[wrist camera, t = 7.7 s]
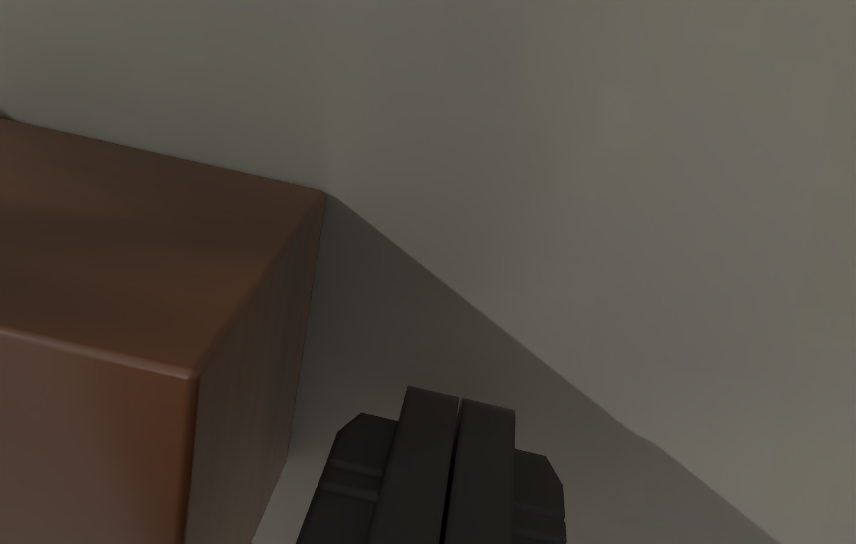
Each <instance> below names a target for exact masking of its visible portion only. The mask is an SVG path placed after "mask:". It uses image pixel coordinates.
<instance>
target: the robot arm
mask: <svg viewBox="0 0 856 544" xmlns="http://www.w3.org/2000/svg"><path fill="white" fill-rule="evenodd" d="M458 404H459V397H455V396H451V395H447V394H442V393H438V392H434V391H430V390H425V389H421V388H417V387H413V386H409V385H408V387H407V390H406V394H405V398H404V402H403V406H402V410H401V414H400V417H399V421H395V420H390V419H386V418H382V417H378V416H374V415H369V414H365V413H360V414H359V415H358V416H356V417H355V418H354V419H353V420H352V421H350V422H349V423H348V424H347V425H345V426H344V427H343V428H342V429H341V430H339V431H338V432H337V434H336V437H335V440H334V442H333V445H332V448H331V450H330V453H329V456H328V459H327V462H326V465H325V467H324V469H323V472H322V475H321V477H320V480H319V483H318V487H317V488H316V491H315V493H314V496H313V499H312V502H311V504H310V507H309V510H308V512H307V515H306V518H305V520H304V523H303V526H302V528H301V531H300V534H299V536H298V539H297V542H296V544H566V542H567V540H566V525H565V522H564V518H565V510H564V494H563V485H562V483H561V482H560V480H559V478H558V476H557V475H556V473H555V471H554V469H553V468H552V466H551V464H550V462H549V461H548V459H547V457H546V456H543V455H539V454H534V453H530V452H526V451H522V450H518V449H515V411H514V410H511V409H507V408H502V407H498V406H494V405H490V404H486V403H481V402H477V401H473V400H469V399H464V398H463V399H462V401H461V404H460V407H459V411H458ZM457 411H458V414H457Z"/></svg>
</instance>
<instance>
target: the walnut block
mask: <svg viewBox="0 0 856 544" xmlns="http://www.w3.org/2000/svg"><path fill="white" fill-rule="evenodd" d="M325 200H326V197H325V193H324V192H322V191H320V190H316V189H311V188H307V187H303V186H298V185H294V184H289V183H285V182H281V181H276V180H272V179H267V178H263V177H258V176H254V175H250V174H245V173H241V172H236V171H232V170H228V169H223V168H219V167H214V166H210V165H206V164H201V163H197V162H192V161H188V160H183V159H179V158H175V157H170V156H166V155H161V154H157V153H153V152H148V151H144V150H139V149H135V148H131V147H126V146H122V145H117V144H113V143H108V142H104V141H100V140H95V139H91V138H86V137H82V136H78V135H73V134H69V133H64V132H60V131H56V130H51V129H47V128H42V127H38V126H33V125H29V124H25V123H20V122H16V121H11V120H7V119H3V118H0V544H251V541H252V539H253V537H254V535H255V532H256V530H257V528H258V525H259V523H260V521H261V518H262V516H263V514H264V511H265V509H266V507H267V504H268V502H269V500H270V497H271V495H272V493H273V490H274V488H275V486H276V484H277V481H278V479H279V477H280V474H281V472H282V470H283V467H284V465H285V463H286V458H287V451H288V445H289V438H290V432H291V425H292V418H293V412H294V405H295V398H296V392H297V385H298V379H299V372H300V365H301V359H302V352H303V346H304V339H305V332H306V326H307V319H308V312H309V306H310V299H311V293H312V286H313V279H314V273H315V266H316V260H317V253H318V246H319V240H320V233H321V226H322V220H323V213H324V207H325Z"/></svg>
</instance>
